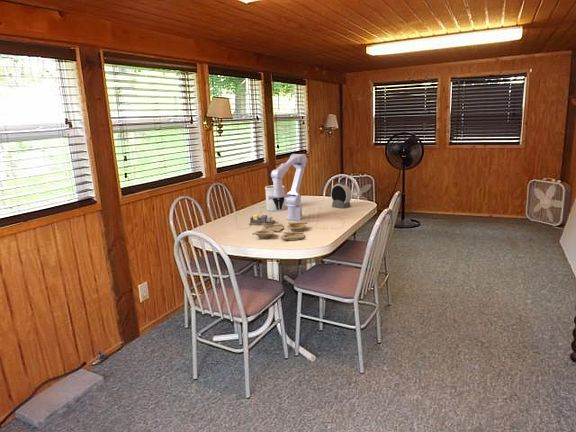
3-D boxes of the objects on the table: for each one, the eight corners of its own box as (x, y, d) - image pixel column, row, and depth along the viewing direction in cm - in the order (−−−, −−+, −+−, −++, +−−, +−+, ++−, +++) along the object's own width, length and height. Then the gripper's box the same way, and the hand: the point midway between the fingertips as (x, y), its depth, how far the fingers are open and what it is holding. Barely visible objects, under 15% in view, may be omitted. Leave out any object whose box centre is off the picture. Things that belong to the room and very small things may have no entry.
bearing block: (267, 221, 277) (267, 215, 276) (265, 223, 272) (264, 217, 271) (263, 220, 278) (262, 215, 277) (260, 223, 272) (260, 217, 271)
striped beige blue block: (272, 221, 275) (272, 216, 274) (271, 222, 272) (271, 217, 271) (262, 221, 276) (262, 216, 276) (261, 222, 274) (260, 217, 273)
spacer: (259, 221, 278) (258, 214, 277) (257, 222, 274) (257, 216, 273) (255, 221, 278) (254, 214, 277) (253, 222, 274) (252, 215, 273)
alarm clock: (328, 206, 319) (328, 182, 314) (337, 204, 325) (337, 180, 321) (345, 209, 307) (344, 184, 303) (353, 206, 313) (353, 182, 309)
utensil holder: (287, 207, 323) (286, 184, 319) (283, 211, 309) (282, 187, 305) (268, 207, 326) (267, 185, 322) (264, 211, 312) (262, 188, 308)
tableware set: (302, 242, 230) (301, 235, 229) (250, 242, 235) (249, 235, 234) (310, 226, 263) (309, 220, 262) (264, 226, 269) (264, 220, 268)
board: (275, 221, 278) (275, 220, 278) (271, 225, 269) (271, 223, 269) (253, 221, 282) (253, 220, 281) (249, 225, 272) (249, 223, 272)
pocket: (263, 220, 278) (263, 215, 278) (260, 223, 272) (260, 218, 271) (253, 220, 280) (253, 215, 279) (250, 223, 273) (250, 217, 273)
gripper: (285, 186, 274) (286, 207, 277) (265, 188, 268) (266, 209, 271) (290, 187, 267) (291, 208, 270) (269, 190, 262) (270, 211, 265)
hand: (279, 209), depth 270 cm, fingers closed
